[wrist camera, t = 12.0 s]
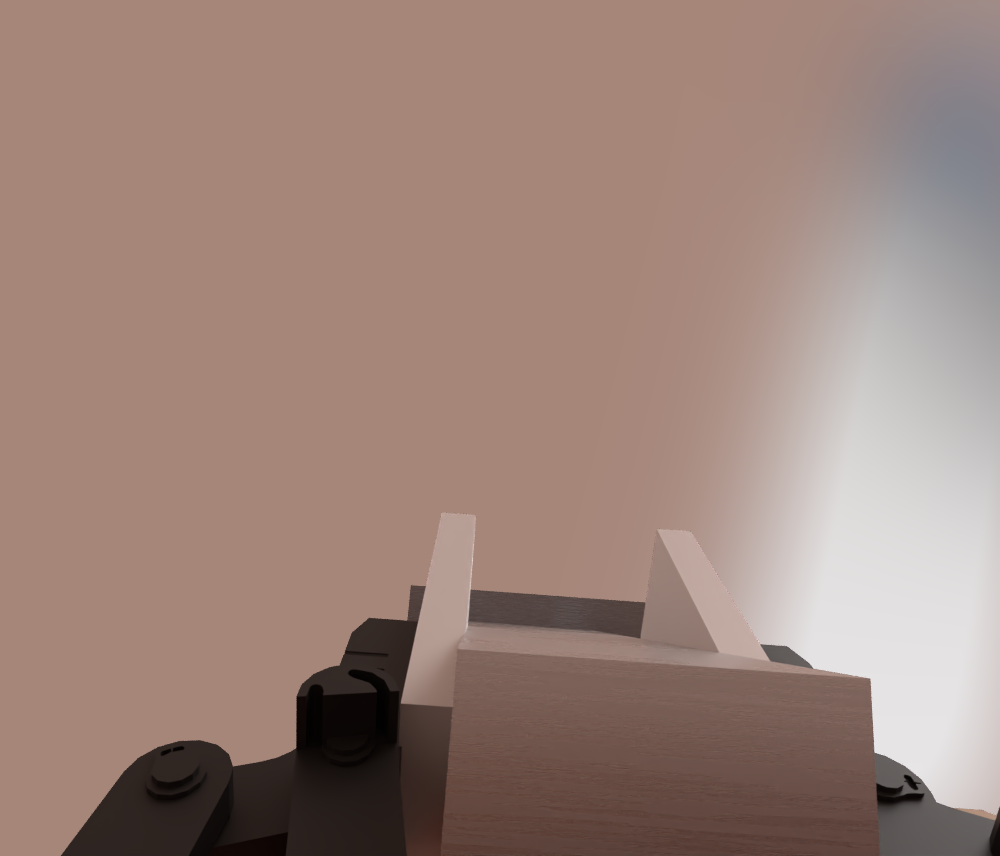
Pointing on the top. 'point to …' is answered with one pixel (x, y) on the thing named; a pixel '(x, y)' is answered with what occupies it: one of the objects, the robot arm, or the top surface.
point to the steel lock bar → (645, 742)
